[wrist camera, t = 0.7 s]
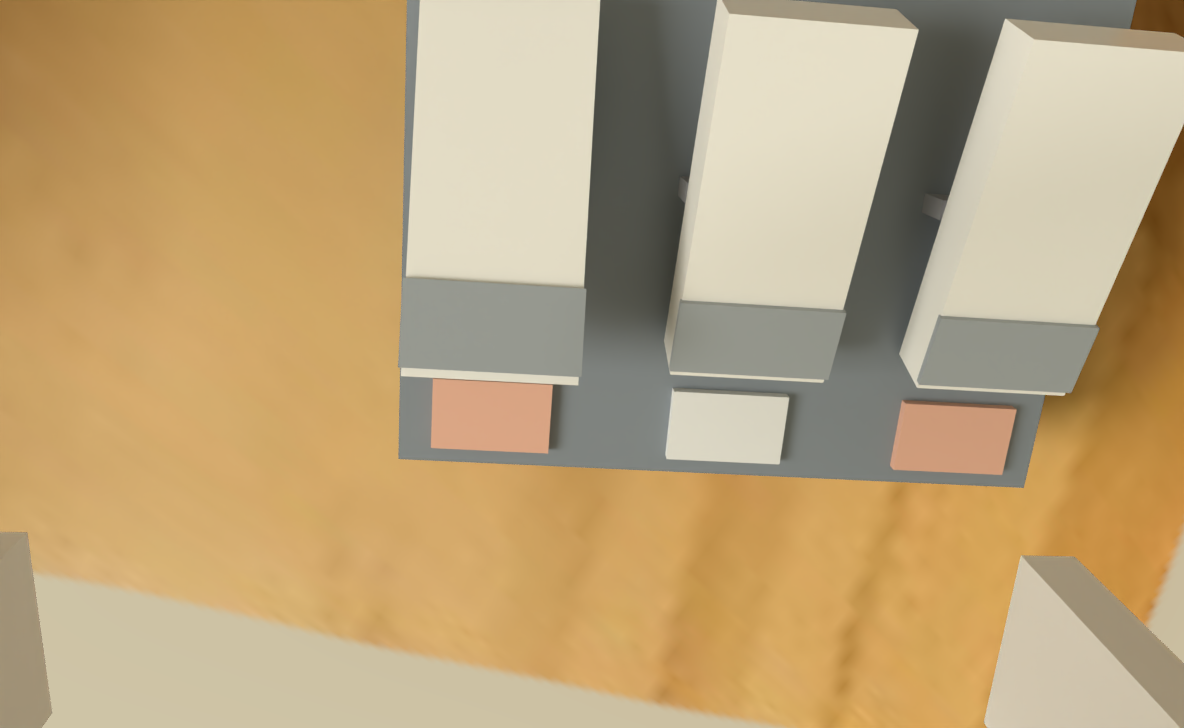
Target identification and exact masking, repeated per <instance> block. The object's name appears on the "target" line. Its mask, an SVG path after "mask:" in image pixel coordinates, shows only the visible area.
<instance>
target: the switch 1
mask: <svg viewBox="0 0 1184 728" xmlns="http://www.w3.org/2000/svg"><path fill="white" fill-rule="evenodd" d="M599 13H600V0H420V7H419V27H418V47H417V66H416V86H415V106H414V125H413V145H412V165H411V185H410V204H409V224H408V244H407V263H406V278H403V283H402V302H401V322H400V342H399V361H398V367H400V368H401V376H408V377H427V378H446V379H465V380H483V381H502V382H521V383H540V384H559V385H578V381H579V377H581V375H582V358H583V340H584V323H585V305H586V289H584V276H585V258H586V241H587V223H588V206H589V188H590V171H591V153H592V136H593V118H594V101H595V83H596V66H597V48H598V30H599Z"/></svg>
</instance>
